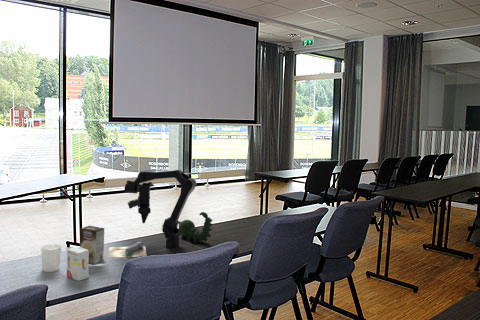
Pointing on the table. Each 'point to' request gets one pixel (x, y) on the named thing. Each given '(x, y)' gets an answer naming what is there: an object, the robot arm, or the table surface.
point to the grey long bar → (134, 248)
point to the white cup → (51, 257)
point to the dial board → (121, 252)
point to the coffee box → (93, 243)
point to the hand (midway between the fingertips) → (143, 223)
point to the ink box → (77, 263)
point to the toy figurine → (195, 229)
